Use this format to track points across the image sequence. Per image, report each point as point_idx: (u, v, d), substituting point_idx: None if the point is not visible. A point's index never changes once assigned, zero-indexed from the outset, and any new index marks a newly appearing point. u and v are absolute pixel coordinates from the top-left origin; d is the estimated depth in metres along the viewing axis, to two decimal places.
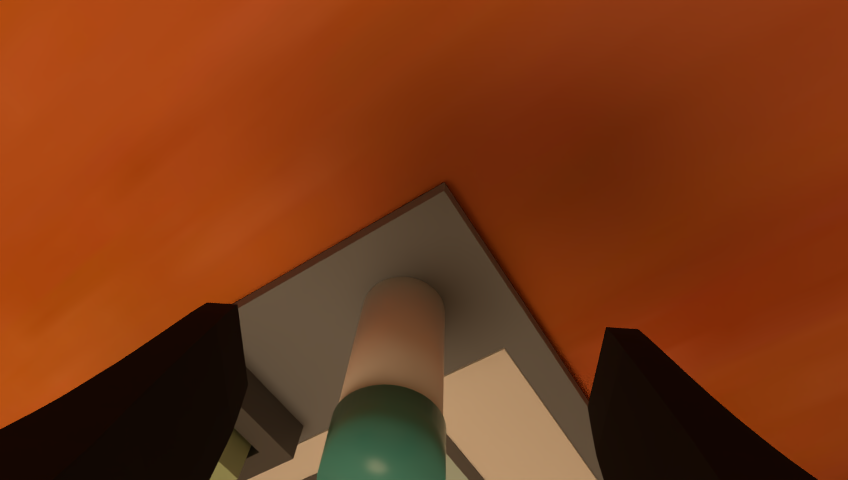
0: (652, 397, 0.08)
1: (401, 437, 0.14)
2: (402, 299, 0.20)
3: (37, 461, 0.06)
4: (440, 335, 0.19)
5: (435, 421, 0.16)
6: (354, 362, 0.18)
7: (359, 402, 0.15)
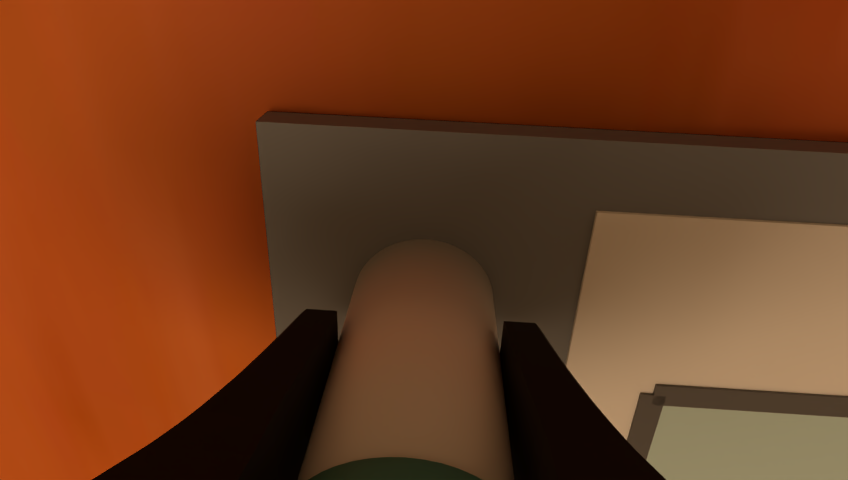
0: (524, 389, 0.09)
1: None
2: (356, 300, 0.11)
3: (207, 473, 0.06)
4: (434, 299, 0.10)
5: None
6: None
7: None
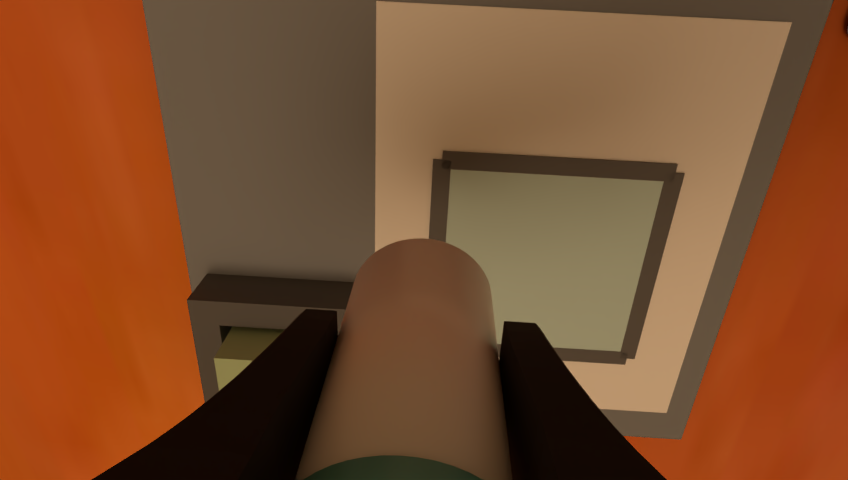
0: (525, 389, 0.09)
1: None
2: (353, 300, 0.11)
3: (206, 473, 0.06)
4: (430, 297, 0.10)
5: None
6: None
7: None
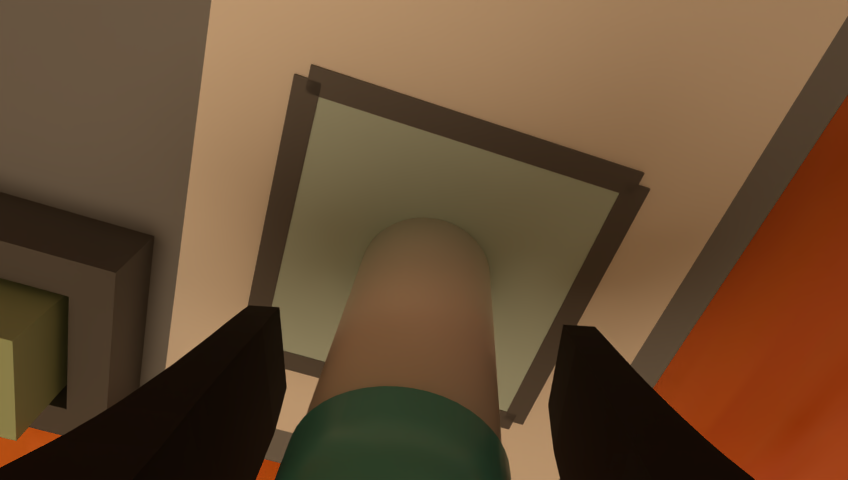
0: (598, 394, 0.09)
1: None
2: (361, 272, 0.12)
3: (108, 466, 0.06)
4: (429, 265, 0.11)
5: (387, 417, 0.07)
6: None
7: None
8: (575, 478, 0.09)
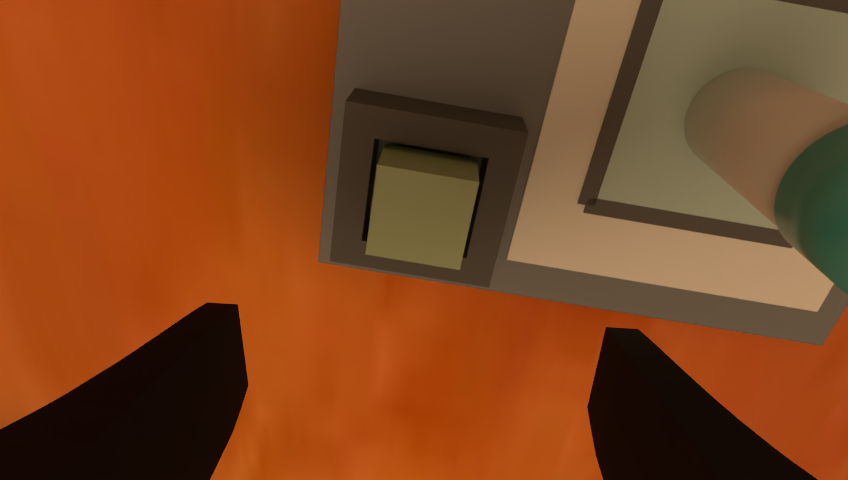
0: (652, 397, 0.08)
1: None
2: (716, 107, 0.16)
3: (37, 461, 0.06)
4: (789, 84, 0.15)
5: None
6: (746, 189, 0.15)
7: (790, 200, 0.12)
8: None
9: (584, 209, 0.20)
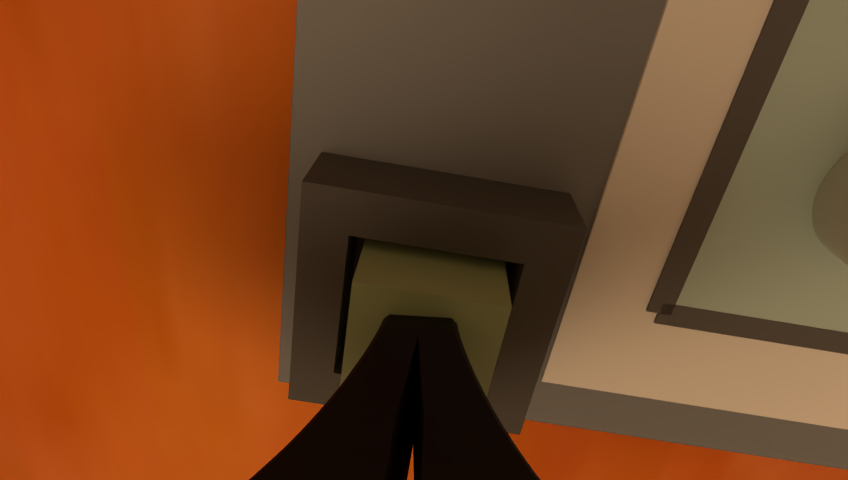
0: (421, 382, 0.09)
1: None
2: None
3: None
4: None
5: None
6: None
7: None
8: (415, 467, 0.10)
9: (655, 317, 0.14)
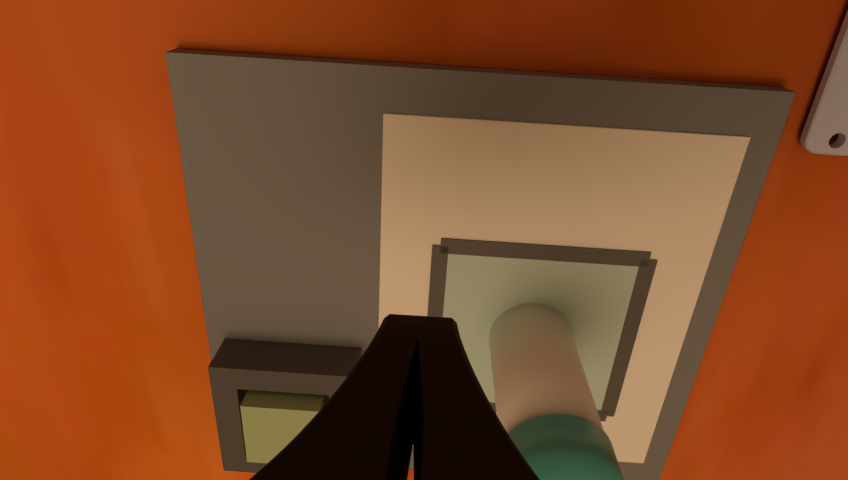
0: (421, 382, 0.09)
1: None
2: (495, 349, 0.21)
3: None
4: (536, 339, 0.19)
5: (546, 431, 0.16)
6: None
7: None
8: (415, 467, 0.10)
9: None
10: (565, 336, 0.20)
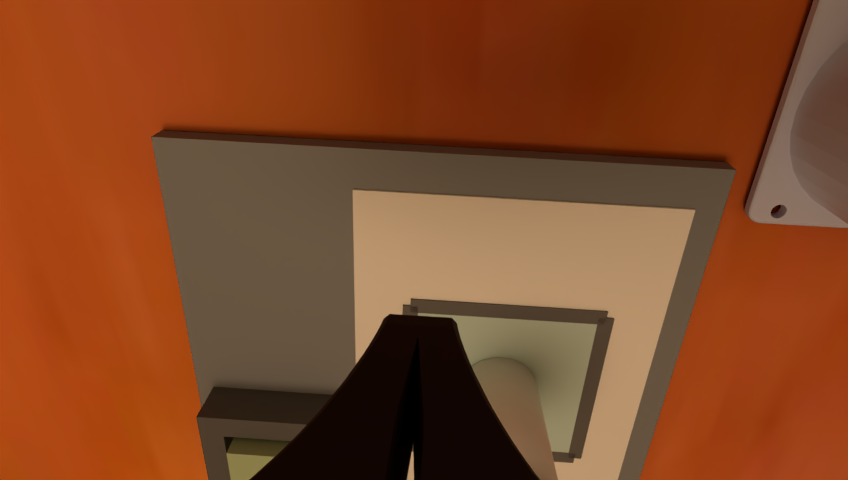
0: (421, 382, 0.09)
1: None
2: None
3: None
4: (499, 397, 0.21)
5: None
6: None
7: None
8: (415, 467, 0.10)
9: None
10: (527, 391, 0.21)
